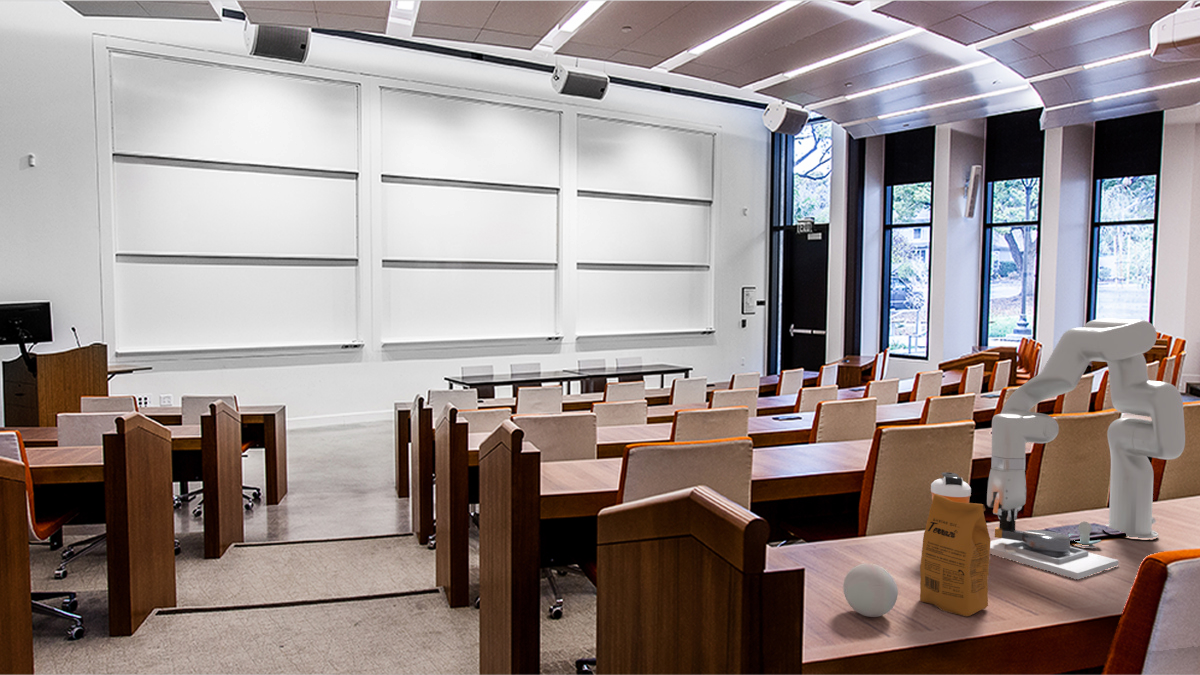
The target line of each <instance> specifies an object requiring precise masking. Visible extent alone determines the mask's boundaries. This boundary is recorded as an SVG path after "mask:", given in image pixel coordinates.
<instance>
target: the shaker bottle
mask: <svg viewBox="0 0 1200 675" xmlns="http://www.w3.org/2000/svg"><path fill="white" fill-rule="evenodd" d="M941 475H942V476H943V477H941V478H937V479H935V480H934V481H933V482H931V484H930V492H931V500H932V501H933V497H934V495H935V494H938V495H940V496H943V497H945V498H947V499H949V500H951V501H953V502H963V503H970V497H971V496H972V494H971V493H972V488H971V486H970V485H969V483H967V482H966V481H964V480H963V477H960V476H959V474H957V473H954V472H949V471H947V472H946V471H944V472H941ZM932 501H931V502H932Z"/></svg>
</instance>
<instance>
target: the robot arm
mask: <svg viewBox="0 0 1200 675" xmlns="http://www.w3.org/2000/svg"><path fill="white" fill-rule="evenodd" d="M1157 338H1158V334H1157V330H1156V328H1155V325H1153V324H1152V323H1151V322H1149V321H1147V320H1145V319H1144V320H1143V319H1129V318H1128V319H1122V318H1121V319H1119V318H1098V319H1093V320H1089V321H1088V322H1086V323H1085V324H1084V326H1083V327H1074V328H1073V327H1072V328H1070V329H1068V330H1066V331H1064V333H1063V334H1062V335H1061V336H1060V338H1059V340H1058V342H1057V344H1056V345H1055V347H1054V349H1053V350H1052V352H1051V354H1050V356H1049V358H1048V359H1047V361H1046V363H1045V365H1044V367H1043V369H1042V370H1041V371H1040V373H1039V374H1037V375H1036V376H1034V377H1032V378H1031V379H1029V380H1028V381H1026V382H1025V383H1024V384H1022V385H1020V386H1019V387H1018V388H1016V389H1015V391H1013V392H1012V394H1011V395H1010V396H1009V397H1008V398H1007V400H1006V401H1005V404H1004V406H1003V408H1002V409H1001V411H1000V413H998V414H995V415H993V417H992V420H991V467H990V471H989V474H988V475H989V476H988V480H987V491H986V492H987V493H986V505H987V507H988V508H993V510H992V513H993V515H997V517H998V520H999V528H1004V529H1011V530H1016V520H1017V519H1018V517H1017V516H1018V512H1019V511H1021V510H1022V509H1023V506H1024V505H1025V504H1026V502H1027V501H1026V500H1027V482H1026V481H1027V480H1026V472H1025V471H1026V446H1027V445H1026V444H1027V443H1033V444H1046V443H1049V442H1050V443H1051V442H1052V441H1054V440H1055V439H1056V438H1057V436H1058V434H1059V431H1060V427H1059V424H1058V422H1057V420H1056V419H1055V418H1054V417H1052V416H1050V415H1048V414H1046V413H1040V412H1034V411H1030V410H1032V409H1033V407H1035V406H1036V405H1037V404H1039V403H1040V402H1043V401H1044V400H1047V399H1050V398H1053V397H1056V396H1060V395H1064V394H1067V393H1070V392H1072V391H1073V390H1075V389H1076V387H1077V386H1078V384H1079V382H1080V381H1081V379H1082V377H1083V375H1084V374H1085V372H1086V370H1087V367H1088V366H1089V365H1090V363H1091V362H1105V363H1106V364H1107V367H1108V369H1107V370H1108V374H1109V375H1108V377H1109V386H1110V388H1109V389H1110V398H1111V399H1110V400H1111V404H1112V407H1113V408H1114V409H1115V410H1116V411H1117V412H1120V413H1123V414H1129V415H1133V416H1134V415H1135V416H1141V417H1149V418H1151V420H1150V419H1143V418H1135V417H1119V418H1117V419H1115V420H1113V421H1112V422H1111V423H1110V425H1109V426H1108V428H1107V432H1106V434H1107V437H1106V438H1107V443H1108V447H1109V452H1110V477H1109V478H1110V479H1109V480H1110V483H1109V484H1110V485H1109V512H1108V514H1109V515H1108V523H1106V524H1104V525H1106V526H1109V527H1110V528H1112V529H1115V530H1118V531H1121V532H1124V533H1126V536H1129V537H1138V538H1153V537H1157V536H1158V537H1159V535H1158V534H1159V533H1158V532H1157V531H1155V530H1153V529H1152V526H1153V525H1154V524H1156V522H1157V521H1156V518H1155V517H1153V504H1154V502H1153V500H1154V499H1153V498H1154V495H1153V494H1154V469H1153V465H1152V463H1151V462H1150V459H1149V458H1154V459H1159V460H1175V459H1178V458H1179V457H1180V456H1181V455H1182V453H1183V452H1184V449H1185V445H1186V429H1185V428H1186V427H1185V416H1184V415H1185V413H1184V402H1183V397H1182V394H1181V392H1180V391H1179V389H1178V387H1176V386H1175V385H1174V384H1172V383H1169V382H1166V381H1160V380H1150V378H1149V374H1148V367H1147V366H1148V365H1147V360H1146V358H1145V356H1144V355H1145V353H1147V352H1149V351H1150V350H1151V349H1152V348H1153V347H1154V346H1155V344H1156V341H1157Z"/></svg>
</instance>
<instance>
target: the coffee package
mask: <svg viewBox="0 0 1200 675" xmlns="http://www.w3.org/2000/svg"><path fill="white" fill-rule="evenodd" d="M985 511H986V507H985V504H982V503H976V502H975V503H973V502H969V503H963V502H953V501H951V500H949V499H947V498H945V497H943V496H940V495H938V494H935V495H934V497H933V501H931V504H930V507H929V511H928V517H927V521H926V526H925V529H924V532H923V539H922V548H921V557H920V567H919V573H920V582H919V584H920V585H919V586H920V587H919V589H920V590H919V591H920V592H919V593H920V596H919V601H920V602H922V603H927V604H931V605H934V606H936V607H937V608H938V609H939V610H941V611H943V612H946V613H949V614H955V615H959V616H962V617H970V616H972V615H974V614H976V613H978V612H979V611H982V610H985V609H987V608H988V607H989V593H988V592H989V585H988V581H989V580H988V579H989V574H990V572H989V570H990V569H989V568H990V556H991V555H990V554H989V551H990V541H991V537H990V533H989V528H988V523H987V522H986V517H985V514H984V512H985Z"/></svg>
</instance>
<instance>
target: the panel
mask: <svg viewBox="0 0 1200 675" xmlns="http://www.w3.org/2000/svg"><path fill="white" fill-rule="evenodd" d="M990 554H992V555H991V556H994V555H996V556H995V557H997V556H1000V557H999V558H1001V557H1004V558H1007V559H1011V560H1014V561H1018V562H1020V563H1019V564H1021V563H1023V564H1022V565H1024V564H1027V565H1026V566H1028V565H1030V566H1029V567H1031V566H1033V567H1032V568H1035V567H1037V568H1036V569H1038V568H1040V569H1039V570H1041V569H1044V570H1043V571H1045V570H1047V571H1046V572H1048V571H1051V572H1050V573H1052V572H1054V573H1053V574H1055V573H1057V574H1056V575H1059V574H1061V575H1060V576H1062V575H1065V576H1068V577H1067V578H1069V577H1071V578H1070V579H1072V578H1075V579H1074V580H1076V579H1080V578H1083V577H1086V576H1089V575H1091V574H1094V573H1097V572H1100V571H1103V570H1105V569H1108V568H1111V567H1114V566H1117V565H1118V566H1119V563H1120V562H1119V559H1115V558H1111V557H1108V556H1104V555H1100V554H1096V553H1092V552H1089V550H1087V549H1083V548H1079V547H1075V546H1070V555H1067V556H1064V557H1060V558H1054V557H1051V556H1047V555H1043V554H1040V553H1036V552H1032V551H1029V550H1025V549H1023V541H1017V540H1011V539H1004V538H998V539H997V538H996V539H992V540H990V551H989V555H990ZM1004 558H1003V559H1004ZM1007 559H1006V560H1007ZM1011 560H1010V561H1011ZM1014 561H1013V562H1014ZM1018 562H1017V563H1018ZM1065 576H1064V577H1065ZM1089 577H1090V576H1089ZM1086 578H1087V577H1086ZM1083 579H1084V578H1083ZM1080 580H1081V579H1080Z"/></svg>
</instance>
